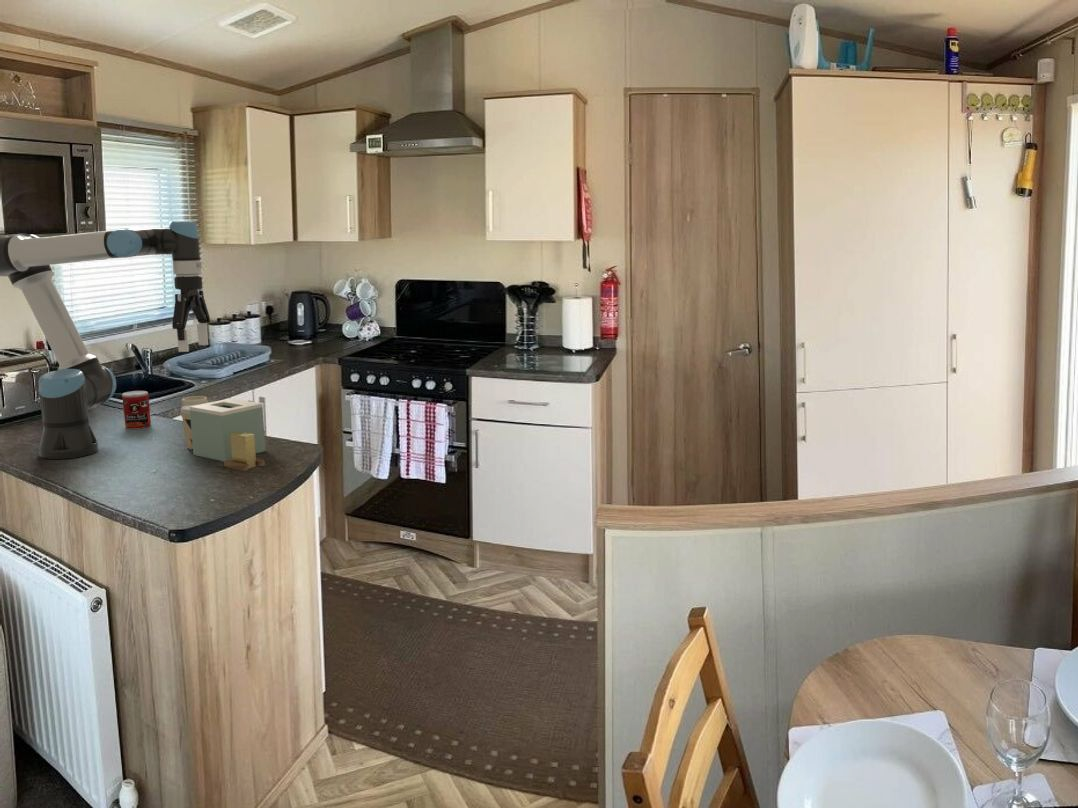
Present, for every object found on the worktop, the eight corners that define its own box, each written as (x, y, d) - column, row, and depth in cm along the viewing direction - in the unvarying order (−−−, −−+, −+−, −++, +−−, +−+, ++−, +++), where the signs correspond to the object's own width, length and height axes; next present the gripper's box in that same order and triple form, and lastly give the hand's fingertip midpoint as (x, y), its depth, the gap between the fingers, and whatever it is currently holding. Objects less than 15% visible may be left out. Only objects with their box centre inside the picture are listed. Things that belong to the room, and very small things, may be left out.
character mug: (192, 444, 270) (189, 401, 268) (174, 442, 273) (171, 400, 271) (219, 438, 280) (216, 396, 278) (201, 436, 283) (199, 394, 281)
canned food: (123, 429, 291) (120, 395, 289) (127, 424, 299) (124, 391, 296) (149, 428, 293) (146, 394, 291) (152, 422, 301) (149, 390, 298)
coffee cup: (185, 451, 264) (182, 411, 261) (182, 444, 272) (179, 405, 269) (219, 448, 268) (216, 408, 265) (215, 441, 276) (212, 402, 273)
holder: (243, 471, 244) (243, 465, 243) (224, 466, 248) (223, 461, 248) (264, 465, 249) (264, 459, 249) (245, 460, 254) (244, 455, 253)
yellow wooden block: (247, 468, 246) (245, 436, 244) (232, 465, 249) (230, 433, 247) (256, 466, 248) (254, 434, 246) (241, 463, 251) (239, 431, 250)
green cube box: (225, 461, 253) (221, 412, 250) (193, 454, 260) (189, 406, 258) (265, 450, 264) (262, 403, 262) (233, 444, 272) (230, 398, 269)
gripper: (181, 278, 252) (188, 354, 256) (217, 272, 276) (223, 342, 281) (155, 278, 252) (161, 354, 257) (193, 272, 277) (199, 342, 281)
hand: (193, 348), depth 269 cm, fingers open, 13 cm apart
